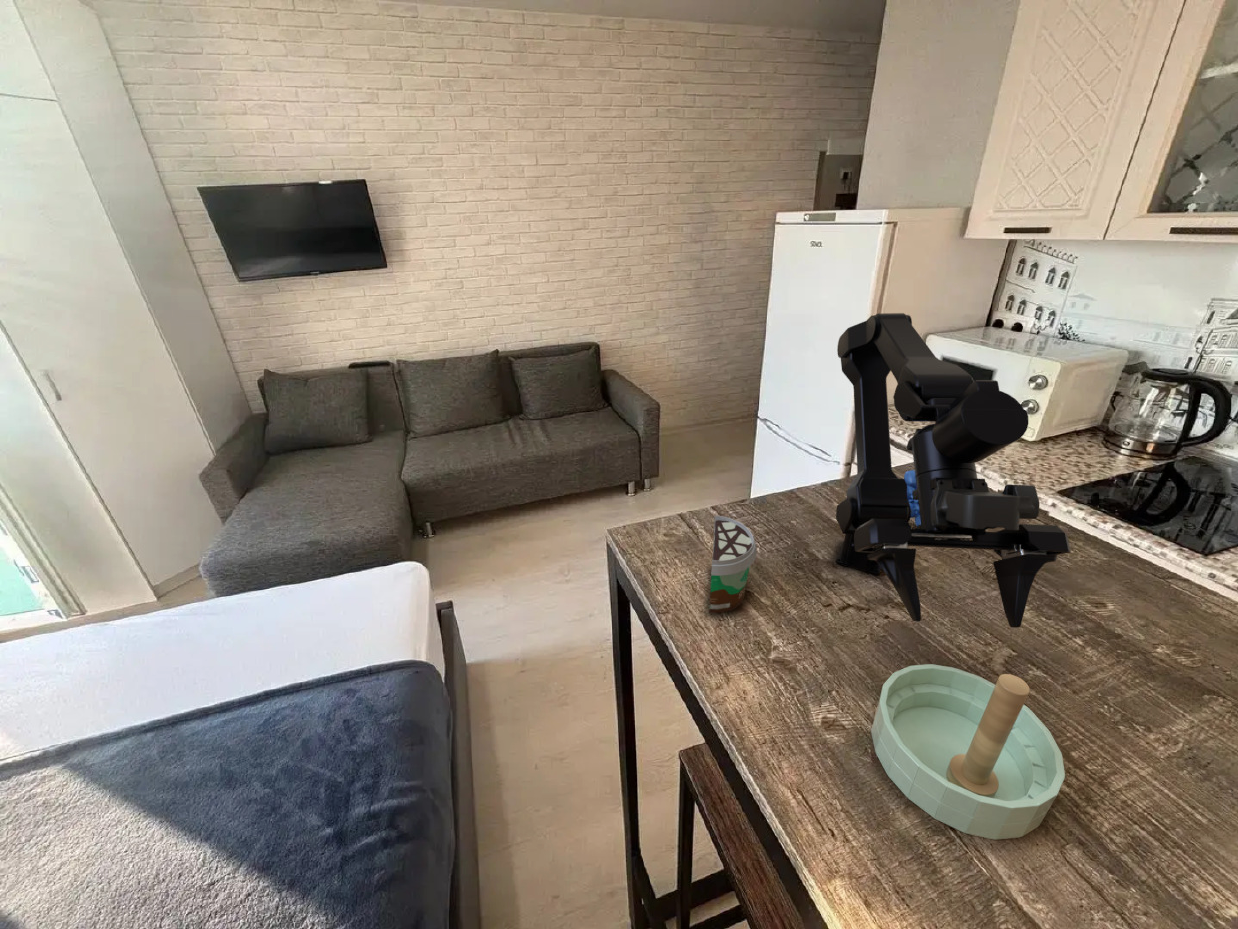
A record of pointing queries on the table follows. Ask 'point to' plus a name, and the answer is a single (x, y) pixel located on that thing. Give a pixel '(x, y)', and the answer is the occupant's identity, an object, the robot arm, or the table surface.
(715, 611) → the food container
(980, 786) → the pestle
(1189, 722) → the table surface
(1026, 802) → the bowl
